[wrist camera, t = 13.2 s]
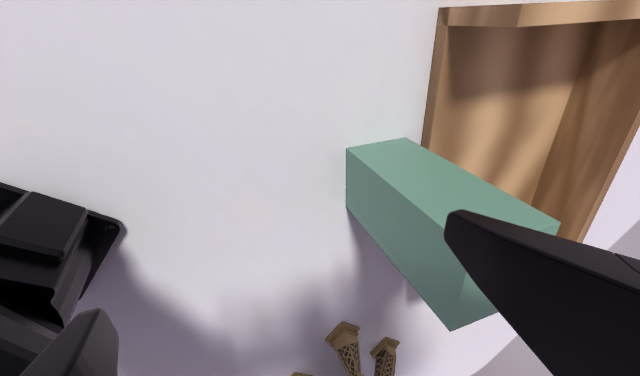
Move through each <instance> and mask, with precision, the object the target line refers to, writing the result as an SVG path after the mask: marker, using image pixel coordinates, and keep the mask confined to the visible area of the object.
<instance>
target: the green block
mask: <svg viewBox="0 0 640 376" xmlns="http://www.w3.org/2000/svg"><path fill="white" fill-rule="evenodd" d="M346 207H347V208H348V210H349V211H350V212H351V213H352V214H353V216H354V217H355V218H356V219H357V220H358V222H359V223H360V224H361V225H362V226H363V228H364V229H365V230H366V231H367V233H368V234H369V235H370V236H371V237H372V239H373V240H374V241H375V242H376V243H377V245H378V246H379V247H380V248H381V249H382V251H383V252H384V253H385V254H386V255H387V257H388V258H389V259H390V260H391V261H392V263H393V264H394V265H395V266H396V267H397V269H398V270H399V271H400V272H401V273H402V275H403V276H404V277H405V278H406V279H407V281H408V282H409V283H410V284H411V285H412V287H413V288H414V289H415V290H416V291H417V293H418V294H419V295H420V296H421V297H422V299H423V300H424V301H425V302H426V303H427V305H428V306H429V307H430V308H431V309H432V311H433V312H434V313H435V314H436V315H437V317H438V318H439V319H440V320H441V321H442V323H443V324H444V325H445V326H446V327H447V329H448V330H449V331H450V332H451V331H453V330H456V329H458V328H461V327H463V326H466V325H468V324H471V323H473V322H475V321H478V320H480V319H483V318H485V317H488V316H490V315H492V314H495V313H497V312H499V311H498V310H497V309H496V308H495V307H494V305H493V304H492V303H491V302H490V301H489V300H488V298H487V297H486V296H485V295H484V294H483V293H482V291H481V290H480V289H479V288H478V287H477V285H476V284H475V283H474V281H473V280H472V279H471V277H470V276H469V275H468V273H467V272H466V270H465V269H464V268H463V266H462V265H461V263H460V262H459V261H458V259H457V258H456V256H455V255H454V253H453V252H452V251H451V249H450V248H449V246H448V245H447V244H446V242H445V240H444V236H443V233H444V228H445V223H446V218H447V215H448V214H449V213H450V212H452V211H455V210H459V209H464V210H467V211H471V212H474V213H478V214H481V215H485V216H488V217H492V218H495V219H499V220H502V221H506V222H509V223H513V224H516V225H520V226H523V227H526V228H530V229H533V230H537V231H540V232H544V233H547V234H551V235H554V236H556V233H557V231H558V229H559V226H560V224H561V222H559V221H557V220H555V219H554V218H552V217H550V216H548V215H546V214H545V213H543V212H541V211H539V210H537V209H535V208H534V207H532V206H530V205H528V204H526V203H524V202H523V201H521V200H519V199H517V198H515V197H513V196H512V195H510V194H508V193H506V192H504V191H502V190H501V189H499V188H497V187H495V186H493V185H492V184H490V183H488V182H486V181H484V180H482V179H481V178H479V177H477V176H475V175H473V174H471V173H470V172H468V171H466V170H464V169H462V168H460V167H459V166H457V165H455V164H453V163H451V162H450V161H448V160H446V159H444V158H442V157H440V156H439V155H437V154H435V153H433V152H431V151H429V150H428V149H426V148H424V147H422V146H420V145H418V144H417V143H415V142H413V141H411V140H409V139H408V138H400V139H394V140H389V141H383V142H378V143H372V144H367V145H361V146H355V147H350V148H346Z"/></svg>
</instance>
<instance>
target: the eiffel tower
mask: <svg viewBox="0 0 640 376" xmlns="http://www.w3.org/2000/svg"><path fill="white" fill-rule="evenodd" d="M359 329H360V328H359V327H357V326H355V325H352V324H349V323H346V322H343V321H342V322H341V323H340V324H339V325H338V326H337V327H336V328H335V329H334V330H333V331H332V333H331V334H330V335H329V336H328V337H327V338H326V339H325V341H326V342H329V344H330V345H331V346H334V348H335V350H336V352H337V354H338V356H339V358H340V360H341V362H342V364H343V365H344V367H345V369H346V371H347V373H348V375H349V376H364V375H362V374H361V368H360V356H359V344H358V338H357V335H358V332H357V331H358V330H359ZM399 344H400V342H399V341H396V340H394V339H391V338H388V337H385V338H384V339H383V340H382V341H381V342H380V343H379V344H378V345H377V346H376V347H375V348H374V349H373V350H372V351H371V352H370V353H371V355H372V357H374V358H376V364H375V374H374V376H394V372H395V362H396V352H395V349H396V348H397V346H398V345H399ZM291 376H312V375H306V374H301V373H296V372H294V373H293V374H292V375H291Z"/></svg>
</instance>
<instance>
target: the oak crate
mask: <svg viewBox="0 0 640 376" xmlns="http://www.w3.org/2000/svg"><path fill="white" fill-rule="evenodd" d="M639 126H640V0H600V1H577V2H553V3H530V4H508V5H487V6H466V7H445V8H439V14H438V22H437V29H436V37H435V44H434V52H433V59H432V67H431V74H430V82H429V89H428V97H427V104H426V112H425V119H424V127H423V135H422V142H421V146H422V147H424V148H426V149H428V150H429V151H431V152H433V153H435V154H437V155H439V156H440V157H442V158H444V159H446V160H448V161H450V162H451V163H453V164H455V165H457V166H459V167H460V168H462V169H464V170H466V171H468V172H470V173H471V174H473V175H475V176H477V177H479V178H481V179H482V180H484V181H486V182H488V183H490V184H492V185H493V186H495V187H497V188H499V189H501V190H502V191H504V192H506V193H508V194H510V195H512V196H513V197H515V198H517V199H519V200H521V201H523V202H524V203H526V204H528V205H530V206H532V207H534V208H535V209H537V210H539V211H541V212H543V213H545V214H546V215H548V216H550V217H552V218H554V219H555V220H557V221H559V222H561V224H560V226H559V229H558V231H557V233H556V236H558V237H561V238H565V239H568V240H572V241H575V242H579V243H582V242H583V240H584V238H585V236H586V234H587V232H588V230H589V228H590V226H591V224H592V222H593V220H594V218H595V215H596V213H597V211H598V209H599V207H600V205H601V203H602V201H603V199H604V197H605V195H606V193H607V191H608V189H609V187H610V185H611V183H612V181H613V179H614V177H615V175H616V173H617V171H618V169H619V167H620V165H621V163H622V161H623V159H624V157H625V155H626V152H627V150H628V148H629V146H630V144H631V142H632V140H633V138H634V136H635V134H636V132H637V130H638V128H639Z"/></svg>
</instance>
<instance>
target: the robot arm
mask: <svg viewBox="0 0 640 376" xmlns="http://www.w3.org/2000/svg"><path fill="white" fill-rule="evenodd" d="M109 225H111V226H114V227H115V228H114V229H110V228H108V227H107V226H109ZM120 229H121V223H120V222H119V220H117V219H114V218H111V217H108V216H105V215H101V214H98V213H95V212H92V211H89V210H86V209H85V208H84V207H80V206H77V205H74V204H71V203H68V202H65V201H62V200H59V199H55V198H52V197H49V196H46V195H43V194H40V193H37V192H29V191H26V190H23V189H20V188H16V187H13V186H10V185H7V184H4V183H1V182H0V376H117V363H118V346H119V338H118V333H117V331H116V329H115V327H114V325H113V324H112V322H111V320H110V318H109V317H108V315H107V313H106V312H105V310H104V309H102V308H97V309H93V310H90V311H86V312H82V313H80V314H78V315H77V316H76V317H75V318H74V319H73V320H72V321H71V322H70V323H69V321H70V319H71V316H72V314H73V311H74V309H75V306H76V304H77V301H78V300H80V299H81V297H82V296H83V294H84V292H85V290H86V289H87V287H88V285H89V283H90V282H91V280H92V278H93V277H94V275H95V273H96V271H97V270H98V268H99V266H100V264H101V263H102V261H103V259H104V258H105V256H106V254H107V252H108V251H109V249H110V247H111V245H112V244H113V242H114V240H115V239H116V237H117V235H118V233H119V232H120ZM443 236H444V240H445V242H446V244H447V245H448V246H449V248H450V249H451V251H452V252H453V253H454V255H455V256H456V258H457V259H458V261H459V262H460V263H461V265H462V266H463V268H464V269H465V270H466V272H467V273H468V275H469V276H470V277H471V279H472V280H473V281H474V283H475V284H476V285H477V287H478V288H479V289H480V290H481V291H482V293H483V294H484V295H485V296H486V297H487V298H488V300H489V301H490V302H491V303H492V304H493V305H494V307H495V308H496V309H497V310H498V311H499V313H500V314H501V315H502V316H503V317H504V318H505V320H506V321H507V322H508V323H509V324H510V325H511V327H512V328H513V329H514V330H515V331H516V332H517V334H518V335H519V336H520V337H521V338H522V339H523V340H524V342H525V343H526V344H527V345H528V346H529V348H530V349H531V350H532V351H533V352H534V353H535V355H536V356H537V357H538V358H539V359H540V360H541V362H542V363H543V364H544V365H545V366H546V367H547V369H548V370H549V371H550V372H551V373H552V374H553V376H640V260H638V259H635V258H631V257H627V256H624V255H621V254H617V253H614V254H613V253H612V252H610V251H607V250H603V249H600V248H596V247H593V246H589V245H586V244H582V243H579V242H575V241H572V240H568V239H565V238H561V237H558V236H554V235H551V234H547V233H544V232H540V231H537V230H533V229H530V228H526V227H523V226H520V225H516V224H513V223H509V222H506V221H502V220H499V219H495V218H492V217H488V216H485V215H481V214H478V213H474V212H471V211H467V210H464V209H459V210H455V211H452V212H450V213H449V214H448V215H447V218H446V223H445V228H444V233H443Z"/></svg>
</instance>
